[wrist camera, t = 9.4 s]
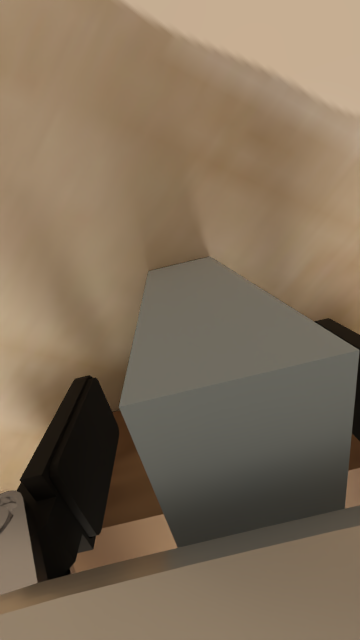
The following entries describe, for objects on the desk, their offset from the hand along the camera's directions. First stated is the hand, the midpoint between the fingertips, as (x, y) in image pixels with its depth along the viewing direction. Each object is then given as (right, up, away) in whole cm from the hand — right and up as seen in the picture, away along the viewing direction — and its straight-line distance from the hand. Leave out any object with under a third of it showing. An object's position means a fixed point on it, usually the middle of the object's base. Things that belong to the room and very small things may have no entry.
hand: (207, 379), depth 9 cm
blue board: (+1, -3, +5) cm, 6 cm away
